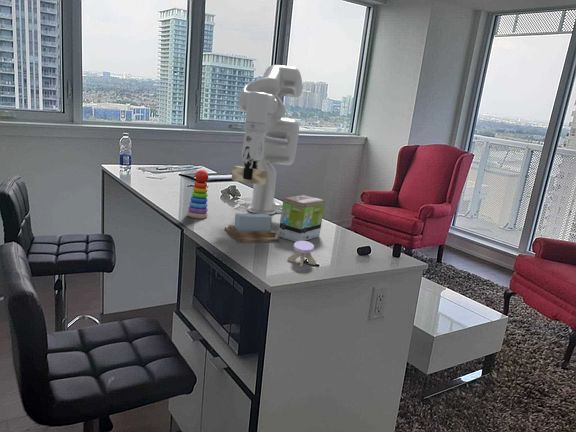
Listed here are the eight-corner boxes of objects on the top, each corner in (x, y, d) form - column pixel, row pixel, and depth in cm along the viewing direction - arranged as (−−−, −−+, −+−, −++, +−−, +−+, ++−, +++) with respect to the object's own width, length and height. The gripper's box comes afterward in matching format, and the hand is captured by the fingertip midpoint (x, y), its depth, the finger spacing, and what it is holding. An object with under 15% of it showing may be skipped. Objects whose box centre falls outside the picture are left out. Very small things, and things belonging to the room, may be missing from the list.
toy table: (292, 255, 153) (294, 238, 152) (319, 261, 151) (321, 244, 150) (283, 264, 144) (285, 246, 143) (312, 270, 142) (314, 251, 140)
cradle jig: (261, 229, 181) (262, 223, 180) (279, 241, 167) (280, 235, 166) (224, 229, 174) (225, 222, 173) (239, 242, 160) (240, 235, 160)
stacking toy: (190, 219, 183) (194, 171, 179) (184, 214, 190) (188, 167, 186) (210, 219, 187) (214, 172, 183) (203, 214, 193) (207, 168, 189)
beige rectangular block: (265, 184, 172) (267, 170, 171) (262, 185, 169) (263, 171, 168) (235, 179, 176) (236, 165, 175) (231, 179, 172) (232, 166, 171)
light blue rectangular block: (264, 231, 175) (266, 214, 173) (269, 234, 171) (271, 217, 169) (233, 230, 170) (235, 213, 168) (237, 234, 166) (239, 216, 164)
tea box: (300, 243, 168) (306, 203, 165) (277, 236, 173) (282, 197, 170) (320, 236, 181) (325, 199, 178) (297, 230, 186) (302, 193, 183)
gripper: (256, 128, 159) (250, 182, 163) (273, 129, 175) (267, 178, 179) (235, 126, 162) (230, 179, 165) (254, 126, 177) (249, 175, 181)
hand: (249, 178), depth 172 cm, fingers closed on beige rectangular block, 3 cm apart
